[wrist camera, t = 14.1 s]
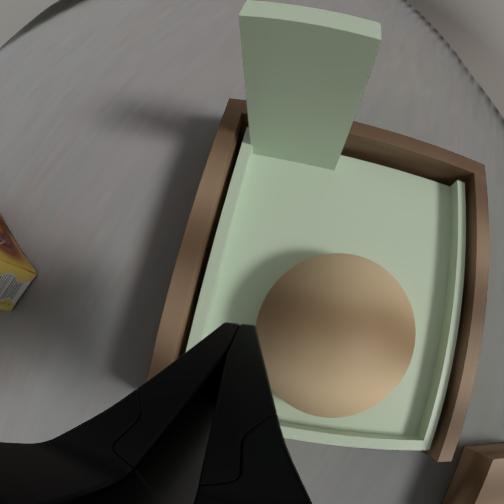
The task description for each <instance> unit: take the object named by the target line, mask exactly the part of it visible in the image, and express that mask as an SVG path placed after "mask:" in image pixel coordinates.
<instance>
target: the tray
mask: <svg viewBox="0 0 504 504" xmlns="http://www.w3.org/2000/svg"><path fill="white" fill-rule="evenodd" d="M239 25H240V35H241V46H242V57H243V67H244V78H245V89H246V100H247V111H248V123H249V127H247V128H246V132H245V135H244V138H243V141H242V145H241V148H240V151H239V155H238V158H237V161H236V165H235V168H234V172H233V175H232V178H231V182H230V185H229V189H228V192H227V196H226V199H225V203H224V206H223V210H222V213H221V217H220V221H219V224H218V228H217V231H216V235H215V239H214V242H213V246H212V250H211V254H210V257H209V261H208V265H207V269H206V272H205V276H204V280H203V284H202V288H201V292H200V296H199V300H198V304H197V308H196V312H195V316H194V320H193V324H192V328H191V332H190V336H189V340H188V344H187V348H186V352H187V351H188V350H190V349H191V348H192V347H193V346H195V345H196V344H197V343H199V342H200V341H201V340H203V339H204V338H205V337H206V336H208V335H209V334H210V333H212V332H213V331H214V330H216V329H217V328H218V327H219V326H221V325H222V324H223V323H225V322H230V323H238V324H240V325H241V324H252V325H255V326H256V322H257V318H258V314H259V311H260V308H261V306H262V303H263V301H264V299H265V297H266V295H267V294H268V292H269V291H270V289H271V288H272V286H273V285H274V284H275V283H276V282H277V280H278V279H279V278H280V277H281V276H282V275H283V274H285V273H286V272H287V271H288V270H289V269H291V268H292V267H294V266H295V265H297V264H299V263H300V262H303V261H305V260H307V259H309V258H312V257H315V256H318V255H323V254H329V253H346V254H353V255H357V256H361V257H364V258H367V259H369V260H371V261H373V262H375V263H377V264H379V265H380V266H382V267H383V268H384V269H386V270H387V271H388V272H389V273H390V274H391V275H392V276H393V277H394V278H395V279H396V280H397V281H398V282H399V284H400V285H401V286H402V288H403V290H404V291H405V293H406V295H407V297H408V299H409V301H410V304H411V307H412V310H413V313H414V319H415V329H416V337H415V346H414V351H413V356H412V359H411V362H410V365H409V367H408V369H407V371H406V373H405V375H404V376H403V378H402V380H401V381H400V383H399V384H398V385H397V386H396V388H395V389H394V390H393V391H392V392H391V393H390V394H389V395H388V396H387V397H386V398H385V399H384V400H382V401H381V402H379V403H378V404H377V405H375V406H373V407H372V408H370V409H368V410H366V411H363V412H361V413H358V414H355V415H351V416H347V417H339V418H325V417H318V416H313V415H310V414H307V413H304V412H302V411H300V410H297V409H295V408H294V407H292V406H291V405H289V404H287V403H286V402H285V401H284V400H282V399H281V398H280V397H279V396H278V395H277V394H276V393H275V392H274V390H273V389H272V388H271V391H272V395H273V399H274V403H275V407H276V411H277V415H278V419H279V423H280V427H281V430H282V434H283V437H284V438H288V439H294V440H300V441H307V442H314V443H321V444H329V445H337V446H347V447H358V448H371V449H388V450H430V447H431V444H432V441H433V437H434V434H435V431H436V428H437V424H438V421H439V417H440V414H441V410H442V406H443V403H444V399H445V395H446V391H447V386H448V382H449V377H450V373H451V368H452V363H453V358H454V352H455V347H456V341H457V335H458V328H459V321H460V313H461V304H462V295H463V284H464V270H465V249H466V201H465V183H464V182H461V181H459V180H457V181H456V182H455V183H453V184H452V185H451V186H447V185H444V184H441V183H438V182H435V181H432V180H429V179H426V178H423V177H419V176H416V175H413V174H410V173H406V172H403V171H400V170H396V169H393V168H389V167H386V166H382V165H378V164H375V163H371V162H367V161H363V160H359V159H355V158H351V157H347V156H343V155H341V152H342V150H343V147H344V144H345V142H346V139H347V136H348V134H349V131H350V128H351V126H352V123H353V120H354V118H355V115H356V112H357V109H358V107H359V104H360V101H361V98H362V96H363V93H364V90H365V87H366V84H367V82H368V79H369V76H370V73H371V70H372V67H373V64H374V61H375V58H376V55H377V52H378V49H379V47H380V44H381V40H382V39H381V24H380V23H378V22H374V21H371V20H367V19H363V18H359V17H355V16H351V15H346V14H342V13H337V12H332V11H327V10H322V9H317V8H311V7H305V6H298V5H291V4H283V3H274V2H264V1H252V0H247V1H246V3H245V4H244V6H243V8H242V10H241V12H240V14H239Z"/></svg>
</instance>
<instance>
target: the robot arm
mask: <svg viewBox="0 0 504 504" xmlns="http://www.w3.org/2000/svg"><path fill="white" fill-rule="evenodd" d="M0 504H312V502H311V500H310V498H309V496H308V494H307V491H306V489H305V487H304V485H303V483H302V481H301V479H300V476H299V474H298V472H297V470H296V468H295V466H294V463H293V461H292V459H291V456H290V454H289V451H288V449H287V446H286V444H285V440H284V437H283V434H282V430H281V427H280V423H279V419H278V415H277V411H276V407H275V403H274V399H273V395H272V391H271V387H270V383H269V379H268V374H267V370H266V366H265V362H264V358H263V354H262V350H261V345H260V341H259V337H258V333H257V329H256V326H255V325H252V324H241V325H240V324H238V323H230V322H225V323H223V324H222V325H221V326H219V327H218V328H217V329H216V330H214V331H213V332H212V333H210V334H209V335H208V336H206V337H205V338H204V339H203V340H201V341H200V342H199V343H197V344H196V345H195V346H193V347H192V348H191V349H190V350H188V351H187V352H186V353H184V354H183V355H182V356H180V357H179V358H178V359H176V360H175V361H174V362H172V363H171V364H170V365H168V366H167V367H166V368H164V369H163V370H162V371H160V372H159V373H158V374H156V375H155V376H154V377H152V378H151V379H150V380H148V381H147V382H146V383H144V384H143V385H142V386H140V387H139V388H138V390H135V391H133V392H132V393H130V394H129V395H128V396H126V397H125V398H123V399H122V400H121V401H119V402H118V403H116V404H115V405H113V406H112V407H110V408H109V409H107V410H105V411H104V412H102V413H100V414H98V415H97V416H95V417H93V418H92V419H90V420H88V421H86V422H84V423H82V424H81V425H79V426H77V427H75V428H73V429H71V430H70V431H68V432H66V433H64V434H62V435H60V436H58V437H56V438H54V439H52V440H49V441H46V442H42V443H35V444H22V443H3V442H0Z"/></svg>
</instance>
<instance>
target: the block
mask: <svg viewBox="0 0 504 504" xmlns="http://www.w3.org/2000/svg"><path fill="white" fill-rule="evenodd" d="M442 504H504V443H496V444H486V445H473V446H464V449H463V452H462V455H461V457H460V460H459V463H458V466H457V468H456V471H455V473H454V476H453V478H452V481H451V483H450V486H449V488H448V490H447V493H446V495H445V497H444V500H443V502H442Z"/></svg>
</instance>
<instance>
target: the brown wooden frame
mask: <svg viewBox="0 0 504 504" xmlns="http://www.w3.org/2000/svg"><path fill="white" fill-rule="evenodd" d="M247 127H249V123H248V111H247V101H246V100H239V99H231V98H229V101H228V103H227V106H226V109H225V111H224V114H223V117H222V120H221V122H220V125H219V128H218V131H217V134H216V137H215V139H214V142H213V145H212V148H211V151H210V154H209V157H208V160H207V163H206V166H205V169H204V172H203V175H202V178H201V181H200V184H199V187H198V190H197V194H196V197H195V200H194V203H193V206H192V210H191V213H190V216H189V219H188V223H187V226H186V229H185V233H184V236H183V240H182V243H181V246H180V250H179V253H178V257H177V261H176V264H175V268H174V271H173V275H172V279H171V282H170V286H169V290H168V294H167V298H166V301H165V305H164V309H163V313H162V317H161V321H160V325H159V329H158V334H157V338H156V342H155V346H154V351H153V355H152V359H151V364H150V368H149V373H148V378H147V381H148V380H150V379H151V378H152V377H154V376H155V375H156V374H158V373H159V372H160V371H162V370H163V369H164V368H166V367H167V366H168V365H170V364H171V363H172V362H174V361H175V360H176V359H178V358H179V357H180V356H182V355H183V354H184V353H186V348H187V344H188V340H189V336H190V332H191V328H192V324H193V320H194V316H195V312H196V308H197V304H198V300H199V296H200V292H201V288H202V284H203V280H204V276H205V272H206V269H207V265H208V261H209V257H210V254H211V250H212V246H213V242H214V239H215V235H216V231H217V228H218V224H219V221H220V217H221V213H222V210H223V206H224V203H225V199H226V196H227V192H228V189H229V185H230V182H231V178H232V175H233V172H234V168H235V165H236V161H237V158H238V155H239V151H240V148H241V145H242V141H243V138H244V135H245V132H246V128H247ZM341 155H343V156H347V157H351V158H355V159H359V160H363V161H367V162H371V163H375V164H378V165H382V166H386V167H389V168H393V169H396V170H400V171H403V172H406V173H410V174H413V175H416V176H419V177H423V178H426V179H429V180H432V181H435V182H438V183H441V184H444V185H447V186H451V185H452V184H453V183H455V182H456V181H457V180H459V181H461V182H464V183H465V201H466V249H465V270H464V284H463V295H462V304H461V313H460V321H459V328H458V335H457V341H456V347H455V352H454V358H453V363H452V368H451V373H450V377H449V382H448V386H447V391H446V395H445V399H444V403H443V406H442V410H441V414H440V417H439V421H438V424H437V428H436V431H435V434H434V437H433V441H432V444H431V447H430V450H421V451H422V452H424V453H425V454H427V455H428V456H430V457H431V458H432V459H434V460H435V461H437V462H447V461H452V458H453V455H454V452H455V449H456V446H457V443H458V440H459V437H460V434H461V431H462V427H463V424H464V421H465V417H466V413H467V410H468V406H469V402H470V398H471V394H472V390H473V385H474V381H475V376H476V371H477V366H478V361H479V355H480V349H481V343H482V336H483V329H484V321H485V312H486V302H487V289H488V272H489V213H488V196H487V184H486V173H485V165H484V164H481V163H479V162H476V161H474V160H472V159H469V158H467V157H464V156H461V155H459V154H456V153H454V152H451V151H448V150H446V149H443V148H440V147H437V146H434V145H432V144H429V143H426V142H423V141H420V140H417V139H414V138H411V137H407V136H404V135H401V134H398V133H394V132H391V131H388V130H384V129H381V128H377V127H373V126H370V125H366V124H362V123H358V122H354V121H353V123H352V126H351V128H350V131H349V134H348V136H347V139H346V142H345V144H344V147H343V150H342V152H341Z"/></svg>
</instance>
